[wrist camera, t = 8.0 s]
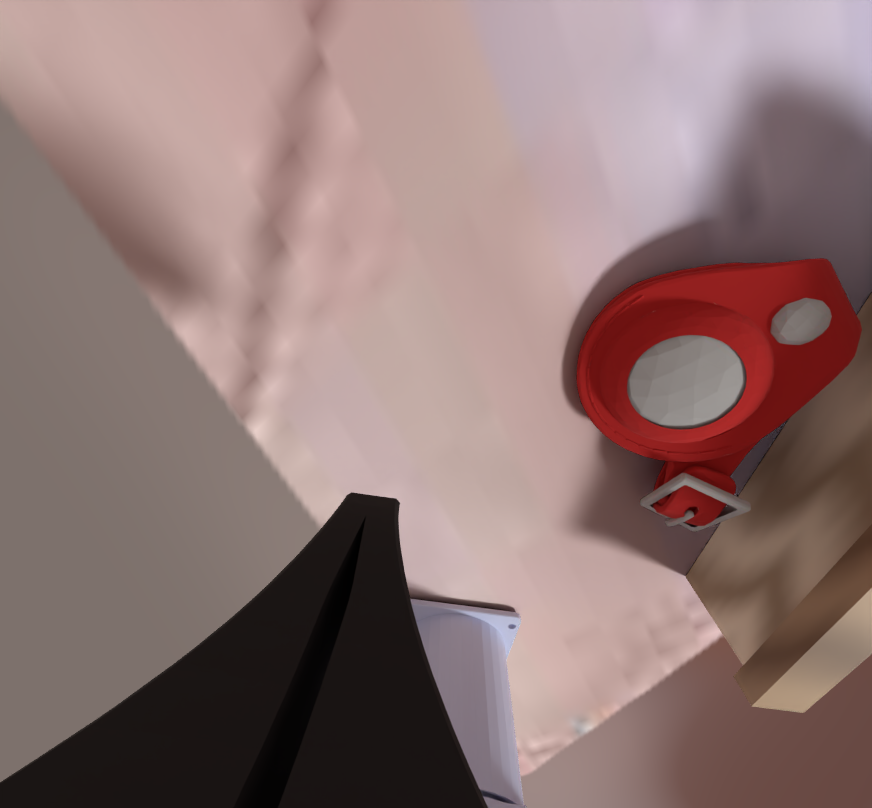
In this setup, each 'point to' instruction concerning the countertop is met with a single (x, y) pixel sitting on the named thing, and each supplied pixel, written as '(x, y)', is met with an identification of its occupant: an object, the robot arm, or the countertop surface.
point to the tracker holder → (712, 371)
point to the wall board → (801, 549)
